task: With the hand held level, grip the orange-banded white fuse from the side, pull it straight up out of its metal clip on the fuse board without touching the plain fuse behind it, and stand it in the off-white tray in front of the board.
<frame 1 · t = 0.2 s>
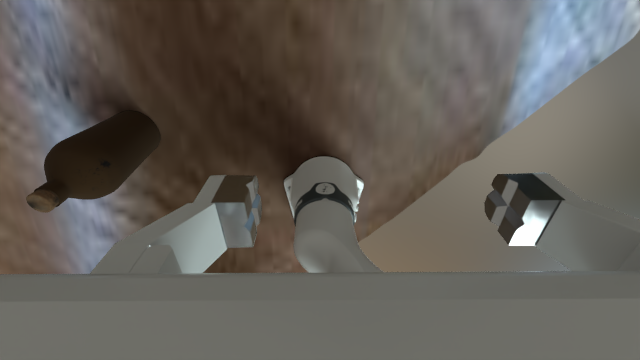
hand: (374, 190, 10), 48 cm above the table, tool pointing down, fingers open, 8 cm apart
olive oil: (137, 131, 60), on the table
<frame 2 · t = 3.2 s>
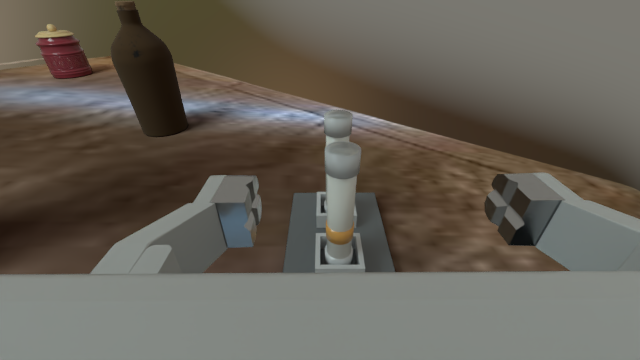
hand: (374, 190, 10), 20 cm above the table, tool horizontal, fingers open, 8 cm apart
canister: (74, 75, 111), on the table
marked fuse: (338, 262, 31), point 1 cm above the table, touching fuse board
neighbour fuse: (335, 214, 38), point 1 cm above the table, touching fuse board
fuse board: (336, 242, 35), on the table
olive oil: (166, 129, 65), on the table
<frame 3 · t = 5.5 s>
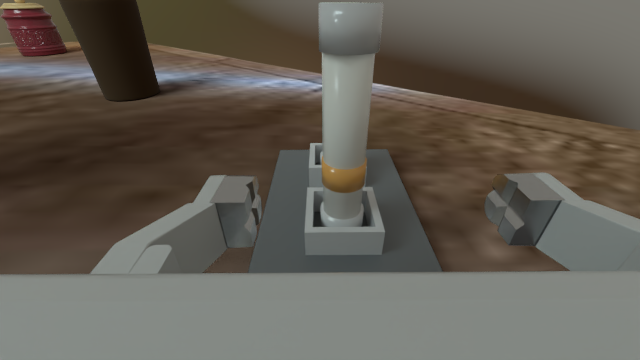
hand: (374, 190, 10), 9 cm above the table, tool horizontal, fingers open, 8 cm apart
canister: (45, 54, 101), on the table
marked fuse: (341, 228, 21), point 1 cm above the table, touching fuse board
fuse board: (337, 206, 24), on the table
olive oil: (134, 95, 55), on the table
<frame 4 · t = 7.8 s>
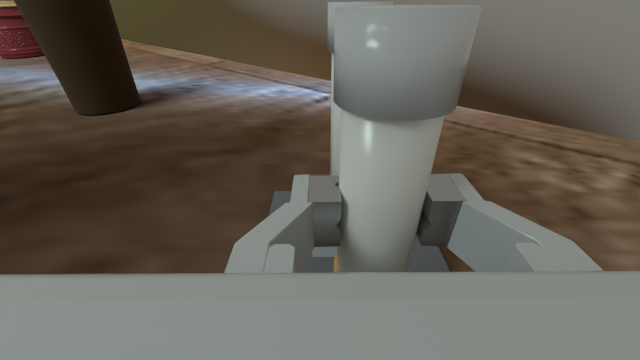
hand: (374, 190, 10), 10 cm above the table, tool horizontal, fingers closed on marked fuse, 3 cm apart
canister: (27, 56, 94), on the table
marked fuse: (360, 344, 14), point 1 cm above the table, touching fuse board, gripper
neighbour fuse: (347, 230, 20), point 1 cm above the table, touching fuse board
fuse board: (352, 286, 18), on the table
olive oil: (110, 107, 48), on the table
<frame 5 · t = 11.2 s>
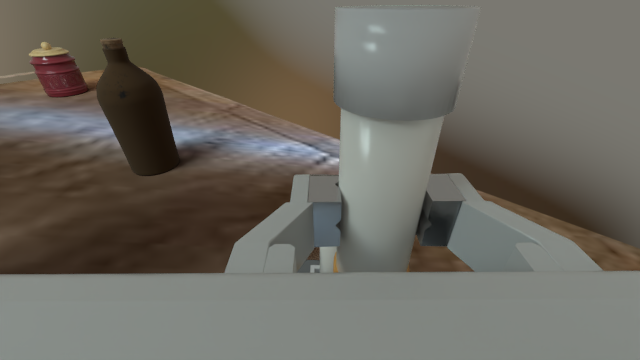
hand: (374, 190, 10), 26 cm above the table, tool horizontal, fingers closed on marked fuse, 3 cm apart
canister: (69, 93, 108), on the table
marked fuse: (360, 343, 14), point 17 cm above the table, touching gripper
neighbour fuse: (330, 292, 34), point 1 cm above the table, touching fuse board
olive oil: (157, 165, 62), on the table
when the fingers open (11 cm above the table, at t = 14.9 s): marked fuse drops 2 cm, resting on tray.
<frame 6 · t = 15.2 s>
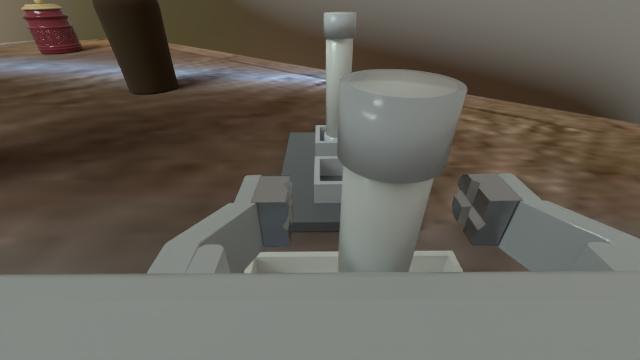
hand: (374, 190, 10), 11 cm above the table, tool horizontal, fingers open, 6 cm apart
canister: (63, 52, 107), on the table
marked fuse: (357, 359, 15), resting on tray
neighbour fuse: (336, 149, 33), point 1 cm above the table, touching fuse board
fuse board: (338, 173, 31), on the table
olive oil: (155, 89, 61), on the table
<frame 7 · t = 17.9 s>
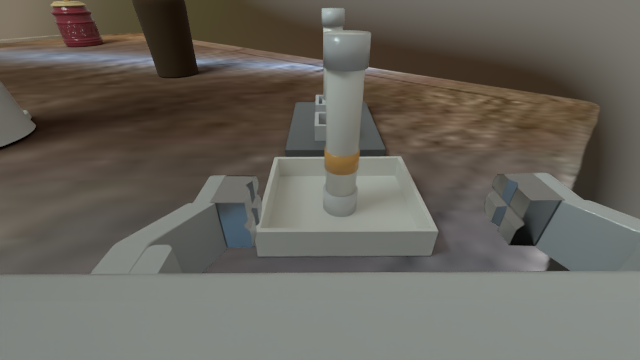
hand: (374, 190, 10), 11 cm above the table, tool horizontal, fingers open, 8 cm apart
canister: (85, 45, 117), on the table
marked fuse: (339, 206, 25), resting on tray
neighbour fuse: (331, 112, 44), point 1 cm above the table, touching fuse board
tray: (340, 209, 26), on the table
fuse board: (332, 127, 42), on the table
olive oil: (179, 74, 72), on the table
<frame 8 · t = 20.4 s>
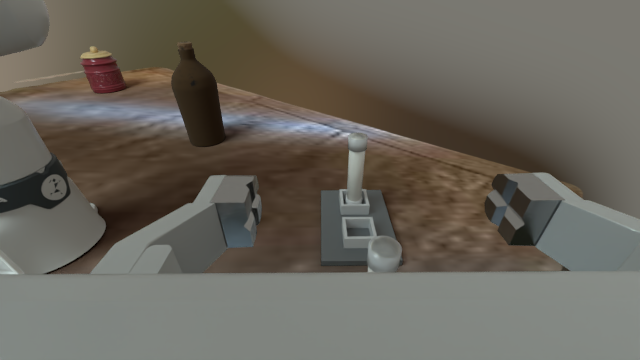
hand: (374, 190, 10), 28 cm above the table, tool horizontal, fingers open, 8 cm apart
canister: (110, 90, 126), on the table
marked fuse: (371, 330, 33), resting on tray
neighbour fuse: (353, 205, 52), point 1 cm above the table, touching fuse board
fuse board: (355, 224, 49), on the table
olive oil: (208, 140, 80), on the table
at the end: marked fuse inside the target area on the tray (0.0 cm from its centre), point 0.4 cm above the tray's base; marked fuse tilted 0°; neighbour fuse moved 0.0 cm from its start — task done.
